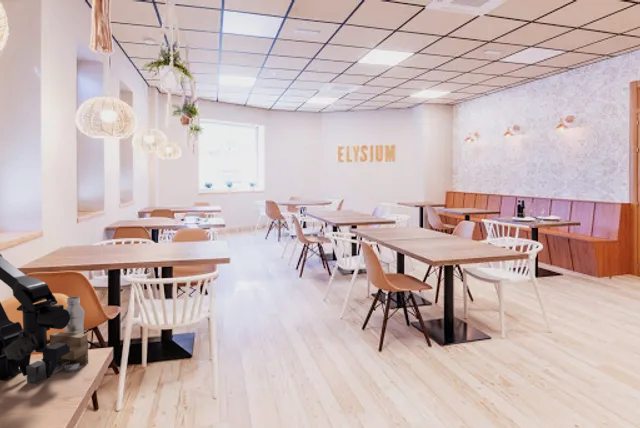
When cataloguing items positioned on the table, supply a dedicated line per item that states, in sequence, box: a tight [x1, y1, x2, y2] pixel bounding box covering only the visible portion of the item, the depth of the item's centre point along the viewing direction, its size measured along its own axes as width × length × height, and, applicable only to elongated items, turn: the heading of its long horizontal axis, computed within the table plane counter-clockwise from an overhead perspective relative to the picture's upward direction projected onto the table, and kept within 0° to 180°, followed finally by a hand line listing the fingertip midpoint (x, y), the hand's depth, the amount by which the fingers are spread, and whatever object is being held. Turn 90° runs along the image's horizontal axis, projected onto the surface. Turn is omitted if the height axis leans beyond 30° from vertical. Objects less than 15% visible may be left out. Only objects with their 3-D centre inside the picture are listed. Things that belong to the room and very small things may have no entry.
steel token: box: [64, 361, 80, 374], centre depth 136 cm, size 4×4×2 cm
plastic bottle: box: [64, 296, 86, 334], centre depth 146 cm, size 6×7×20 cm
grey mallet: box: [26, 360, 68, 385], centre depth 133 cm, size 3×12×5 cm, turn 168°
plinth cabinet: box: [42, 331, 89, 365], centre depth 139 cm, size 12×6×10 cm, turn 78°
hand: (37, 376), depth 129 cm, fingers open, 8 cm apart
